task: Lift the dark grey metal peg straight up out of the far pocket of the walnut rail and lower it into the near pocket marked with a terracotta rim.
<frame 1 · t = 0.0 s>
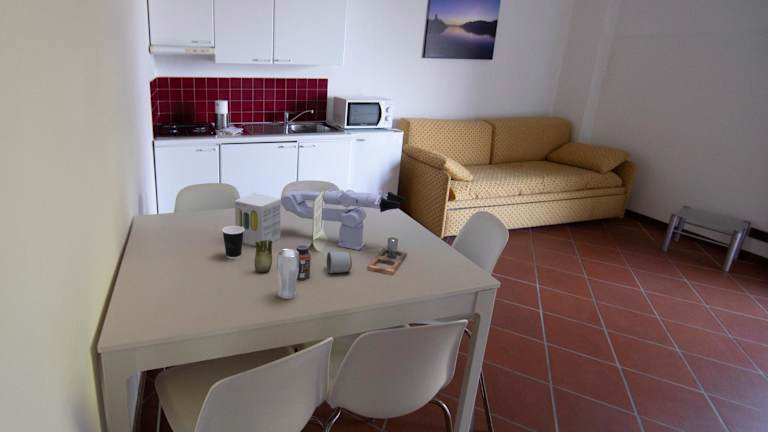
hand: (402, 203, 194), 22 cm above the table, tool horizontal, fingers open, 7 cm apart
metal peg: (391, 257, 196), resting in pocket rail
dixie cup: (233, 257, 186), on the table
supplement bottle: (301, 277, 174), on the table
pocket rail: (387, 262, 192), on the table
silver beverage can: (287, 295, 161), on the table
supplement box: (258, 240, 203), on the table
fennel bulb: (263, 271, 176), on the table
ceramic mug: (336, 270, 182), on the table
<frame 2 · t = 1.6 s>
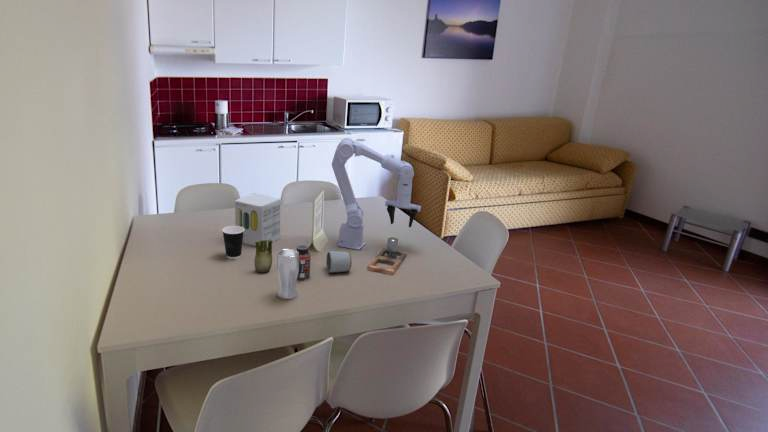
hand: (401, 225, 203), 10 cm above the table, tool pointing down, fingers open, 7 cm apart
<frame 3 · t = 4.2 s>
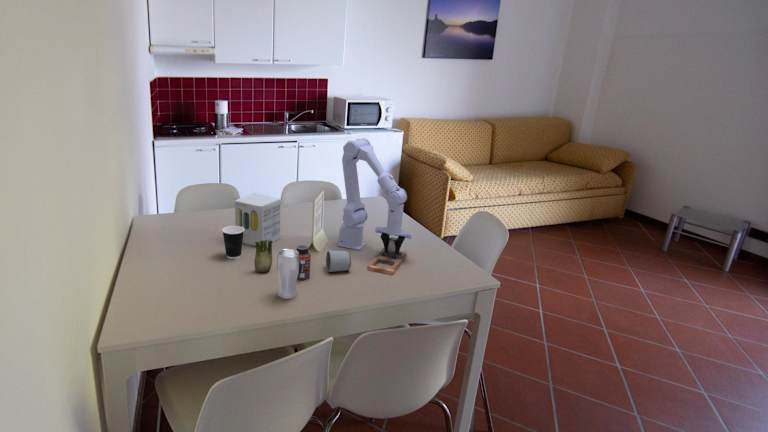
hand: (391, 252, 195), 2 cm above the table, tool pointing down, fingers closed on metal peg, 4 cm apart
metal peg: (391, 257, 196), resting in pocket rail, touching gripper
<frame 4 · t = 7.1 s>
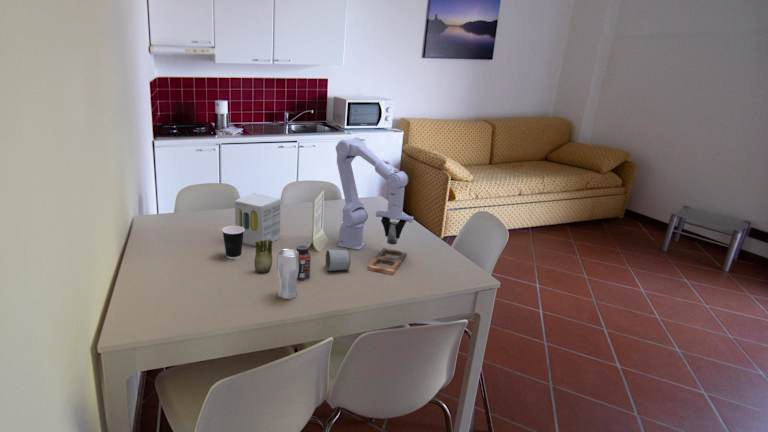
hand: (392, 236, 192), 9 cm above the table, tool pointing down, fingers closed on metal peg, 4 cm apart
metal peg: (392, 242, 193), point 7 cm above the table, touching gripper
when the fingers open (3 cm above the table, at t = 10.2 s): metal peg stays where it is, resting in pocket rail.
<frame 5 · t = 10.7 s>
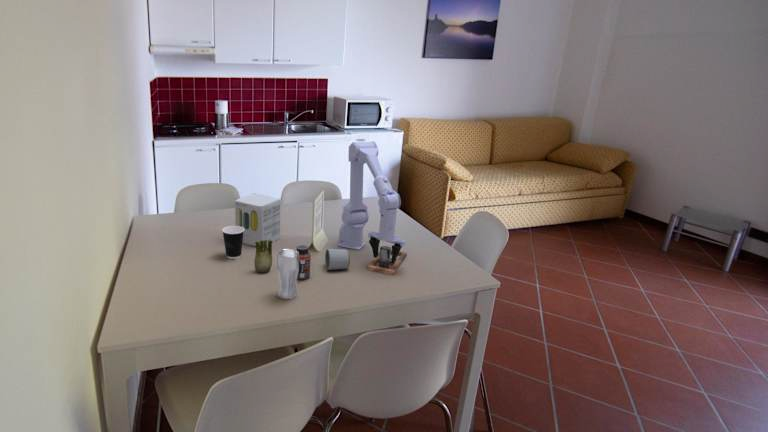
hand: (384, 259, 186), 3 cm above the table, tool pointing down, fingers open, 7 cm apart
metal peg: (383, 267, 187), resting in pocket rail
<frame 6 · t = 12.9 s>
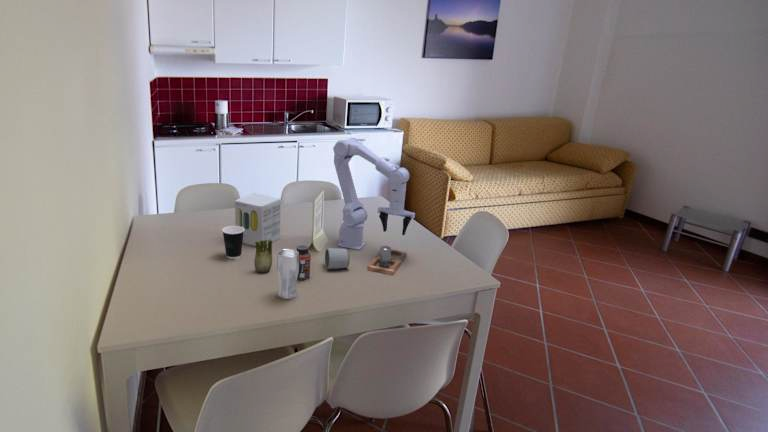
hand: (394, 232, 194), 10 cm above the table, tool pointing down, fingers open, 7 cm apart
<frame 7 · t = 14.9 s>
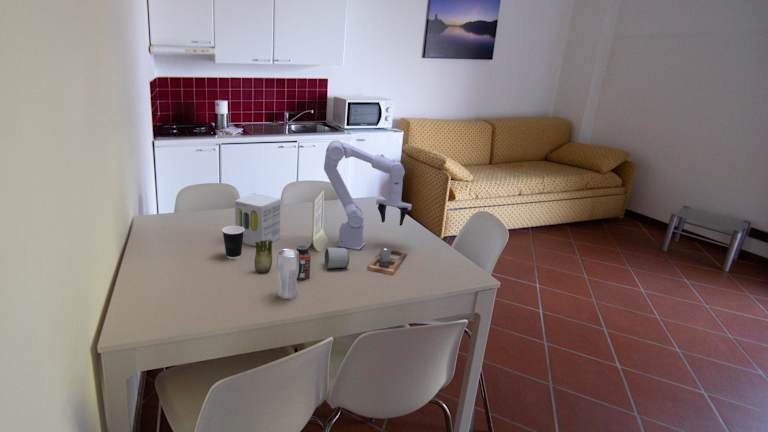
hand: (392, 223, 204), 10 cm above the table, tool pointing down, fingers open, 7 cm apart
at the end: metal peg 0.0 cm from the target spot on the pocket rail, point 0.0 cm above the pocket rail's base; metal peg tilted 0°; the gripper is holding nothing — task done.
